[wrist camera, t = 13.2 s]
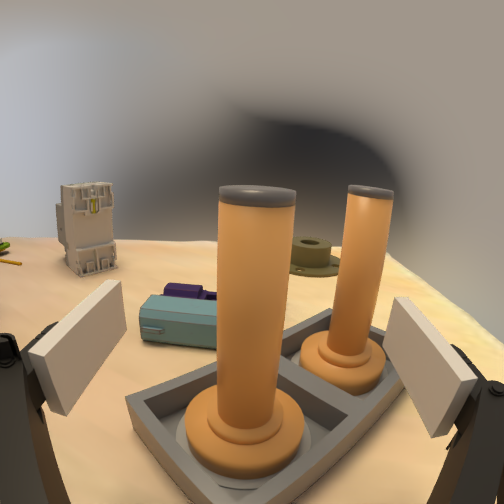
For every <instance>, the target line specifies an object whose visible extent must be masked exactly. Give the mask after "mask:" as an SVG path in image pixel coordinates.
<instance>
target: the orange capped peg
mask: <svg viewBox="0 0 504 504" xmlns="http://www.w3.org/2000/svg"><path fill="white" fill-rule="evenodd" d="M393 196H394V191H391V190H386V189H381V188H375V187H368V186H359V185H349V188H348V199H347V209H346V218H345V227H344V236H343V243H342V251H341V258H340V265H339V272H338V279H337V285H336V292H335V298H334V304H333V310H332V315H331V321H330V326H329V330H328V331H322V332H318V333H315V334H313V335H310V336H309V337H307V338H306V339H305V340H304V342H303V344H302V347H301V352H300V359H299V365H298V366H300V367H302V368H304V369H305V370H307V371H309V372H311V373H312V374H314V375H316V376H318V377H319V378H321V379H323V380H325V381H327V382H328V383H330V384H332V385H334V386H336V387H338V388H339V389H341V390H343V391H345V392H347V393H349V394H351V395H352V396H358V395H362V394H365V393H367V392H369V391H371V390H372V389H373V388H375V387H376V385H377V384H378V382H379V380H380V377H381V374H382V371H383V368H384V365H385V362H386V356H385V353H384V351H383V349H382V348H381V347H380V346H379V345H378V344H377V343H376V342H374V341H373V340H371V339H370V338H368V335H369V331H370V327H371V323H372V318H373V314H374V310H375V305H376V301H377V296H378V291H379V286H380V281H381V276H382V271H383V265H384V259H385V254H386V247H387V241H388V235H389V228H390V221H391V212H392V205H393Z"/></svg>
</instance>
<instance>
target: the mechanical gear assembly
mask: <svg viewBox="0 0 504 504" xmlns="http://www.w3.org/2000/svg"><path fill="white" fill-rule="evenodd" d="M8 247H10V243H9V242H5V243H4V242H2V238H0V252H1V251H3V250H5V249H6V248H8ZM0 262H4V263H9V264H15V265H22V263H21V262H15V261H10V260H4V259H0Z"/></svg>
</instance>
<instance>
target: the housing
mask: <svg viewBox="0 0 504 504" xmlns="http://www.w3.org/2000/svg"><path fill="white" fill-rule="evenodd" d="M332 310H333V309H330V308H328V309H326V310H324V311H323V312H321V313H319V314H317V315H315V316H313V317H311V318H309V319H307V320H305V321H303V322H301V323H299V324H297V325H295V326H293V327H291V328H288V329H286V330H284V331H283V337H282V345H281V354H280V362H279V370H278V378H277V385H276V388H277V389H280V390H281V391H283V392H285V393H286V394H288V395H289V396H290V397H292V398H293V399H294V400H295V401H296V403H297V404H298V405H299V407H300V408H301V410H302V413H303V416H304V431H303V435H302V439H301V442H300V446H299V449H298V452H297V454H296V456H295V457H294V459H293V460H292V461H291V462H290V463H289V464H288V465H287V466H286V467H285V468H283V469H282V470H280V471H279V472H277V473H274V474H272V475H270V476H267V477H263V478H258V479H249V480H242V479H233V478H228V477H224V476H221V475H218V474H216V473H214V472H212V471H210V470H208V469H207V468H205V467H204V466H202V465H201V464H200V463H199V462H198V461H197V460H196V459H195V457H194V456H193V455H192V453H191V451H190V449H189V446H188V442H187V436H186V429H185V412H186V409H187V407H188V405H189V404H190V402H191V401H192V400H193V398H194V397H195V396H197V395H198V394H199V393H200V392H202V391H203V390H205V389H207V388H209V387H212V386H214V385H217V361H216V362H214V363H211V364H209V365H206V366H204V367H202V368H199V369H197V370H194V371H192V372H189V373H187V374H184V375H182V376H179V377H177V378H174V379H172V380H169V381H166V382H164V383H161V384H159V385H156V386H153V387H151V388H148V389H145V390H142V391H140V392H137V393H134V394H131V395H128V396H125V399H126V403H127V407H128V411H129V414H130V418H131V421H132V425H133V428H134V430H135V431H136V432H137V434H138V435H139V437H140V438H141V439H142V441H143V442H144V443H145V445H146V446H147V448H148V449H149V450H150V452H151V453H152V454H153V455H154V457H155V458H156V459H157V461H158V462H159V463H160V464H161V466H162V467H163V468H164V469H165V471H166V472H167V473H168V474H169V476H170V477H171V478H172V479H173V480H174V481H175V483H176V484H177V485H178V486H179V487H180V488H181V490H182V491H183V492H184V493H185V494H186V495H187V496H188V497H189V499H190V500H191V501H192V502H193V503H194V504H289V503H291V502H292V501H293V500H294V499H296V498H297V497H298V496H299V495H301V494H302V493H303V492H304V491H305V490H307V489H308V488H309V487H310V486H311V485H312V484H314V483H315V482H316V481H317V480H318V479H319V478H320V477H321V476H323V475H324V474H325V473H326V472H327V471H328V470H329V469H330V468H331V467H332V466H333V465H334V464H335V463H337V462H338V461H339V460H340V459H341V458H342V457H343V456H344V455H345V454H346V453H347V452H348V451H349V450H350V449H351V448H352V447H353V446H354V445H355V444H356V443H357V442H358V440H359V439H360V438H361V437H362V436H363V435H364V434H365V433H366V432H367V431H368V430H369V429H370V428H371V426H372V425H373V424H374V423H375V422H376V421H377V420H378V419H379V417H380V416H381V415H382V414H383V413H384V412H385V410H386V409H387V408H388V407H389V406H390V405H391V403H392V402H393V401H394V400H395V398H396V397H397V396H398V395H399V393H400V392H401V391H402V390H403V388H404V387H405V386H404V384H403V382H402V380H401V379H400V377H399V375H398V373H397V371H396V369H395V368H394V366H393V364H392V362H391V360H390V359H389V357H388V355H387V353H386V351H385V350H384V348H383V346H382V344H383V340H384V337H385V333H386V331H383V330H381V329H378V328H376V327H373V326H371V327H370V331H369V335H368V338H370V339H371V340H373V341H374V342H376V343H377V344H378V345H379V346H380V347H381V348H382V349H383V351H384V353H385V356H386V362H385V365H384V368H383V371H382V374H381V377H380V380H379V382H378V384H377V385H376V387H375V388H373V389H372V390H371V391H369V392H367V393H365V394H362V395H358V396H352V395H351V394H349V393H347V392H345V391H343V390H341V389H339V388H338V387H336V386H334V385H332V384H330V383H328V382H327V381H325V380H323V379H321V378H319V377H318V376H316V375H314V374H312V373H311V372H309V371H307V370H305V369H304V368H302V367H300V366H298V365H299V359H300V352H301V347H302V344H303V342H304V340H305V339H306V338H307V337H309V336H310V335H313V334H315V333H318V332H322V331H328V330H329V326H330V321H331V315H332Z"/></svg>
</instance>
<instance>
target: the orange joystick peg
mask: <svg viewBox="0 0 504 504" xmlns="http://www.w3.org/2000/svg"><path fill="white" fill-rule="evenodd" d="M295 201H296V191H294V190H290V189H285V188H278V187H268V186H252V185H230V186H222V187H220V188H219V215H218V254H217V385H214V386H212V387H209V388H207V389H205V390H203V391H202V392H200V393H199V394H198V395H197V396H195V397H194V398H193V400H192V401H191V402H190V404H189V405H188V407H187V409H186V412H185V429H186V436H187V442H188V446H189V449H190V451H191V453H192V455H193V456H194V457H195V459H196V460H197V461H198V462H199V463H200V464H201V465H202V466H204V467H205V468H207V469H208V470H210V471H212V472H214V473H216V474H218V475H221V476H224V477H228V478H233V479H242V480H249V479H258V478H263V477H267V476H270V475H272V474H274V473H277V472H279V471H280V470H282V469H283V468H285V467H286V466H287V465H288V464H289V463H290V462H291V461H292V460H293V459H294V457H295V456H296V454H297V452H298V449H299V446H300V442H301V439H302V435H303V431H304V416H303V413H302V410H301V408H300V407H299V405H298V404H297V403H296V401H295V400H294V399H293V398H292V397H290V396H289V395H288V394H286V393H285V392H283V391H281V390H280V389H277V388H276V385H277V378H278V370H279V362H280V354H281V345H282V337H283V328H284V319H285V310H286V301H287V291H288V281H289V271H290V260H291V249H292V238H293V225H294V214H295Z"/></svg>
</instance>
